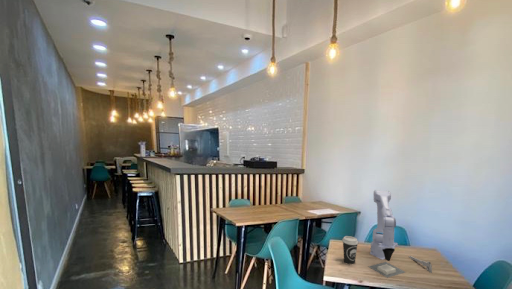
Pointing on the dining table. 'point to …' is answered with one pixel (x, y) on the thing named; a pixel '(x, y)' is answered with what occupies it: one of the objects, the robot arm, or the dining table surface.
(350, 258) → the coffee cup
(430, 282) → the dining table surface
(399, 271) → the mat
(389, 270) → the tile
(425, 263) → the caliper
